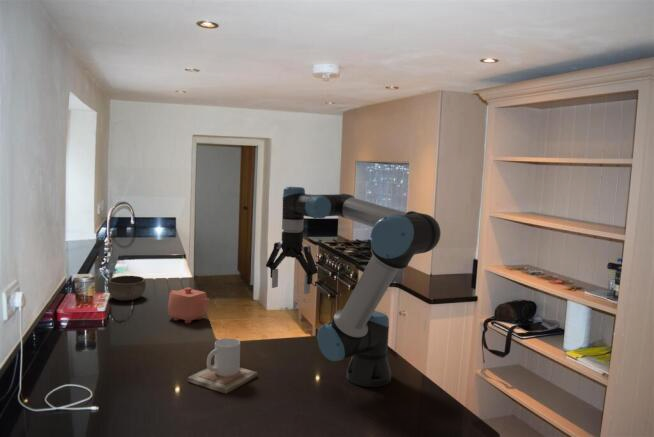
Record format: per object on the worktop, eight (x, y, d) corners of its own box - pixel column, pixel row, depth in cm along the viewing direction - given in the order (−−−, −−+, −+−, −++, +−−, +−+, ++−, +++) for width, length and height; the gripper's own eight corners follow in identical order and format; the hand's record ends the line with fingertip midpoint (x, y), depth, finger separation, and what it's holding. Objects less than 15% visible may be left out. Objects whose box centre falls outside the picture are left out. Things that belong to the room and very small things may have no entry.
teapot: (217, 320, 236) (217, 289, 235) (197, 327, 225) (197, 295, 223) (180, 311, 247) (181, 282, 245) (160, 318, 236) (160, 287, 234)
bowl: (138, 304, 256) (138, 283, 255) (101, 302, 256) (101, 282, 255) (150, 295, 273) (150, 276, 272) (116, 293, 274) (116, 274, 272)
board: (257, 376, 178) (257, 371, 177) (226, 393, 164) (226, 388, 163) (220, 365, 185) (220, 361, 185) (187, 381, 171) (187, 376, 171)
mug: (213, 382, 167) (213, 351, 166) (199, 374, 173) (200, 344, 172) (244, 373, 176) (245, 343, 175) (230, 365, 182) (231, 336, 180)
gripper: (328, 233, 183) (326, 293, 185) (269, 226, 194) (267, 282, 197) (318, 235, 176) (315, 297, 178) (257, 228, 188) (255, 286, 190)
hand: (290, 290), depth 188 cm, fingers open, 13 cm apart
